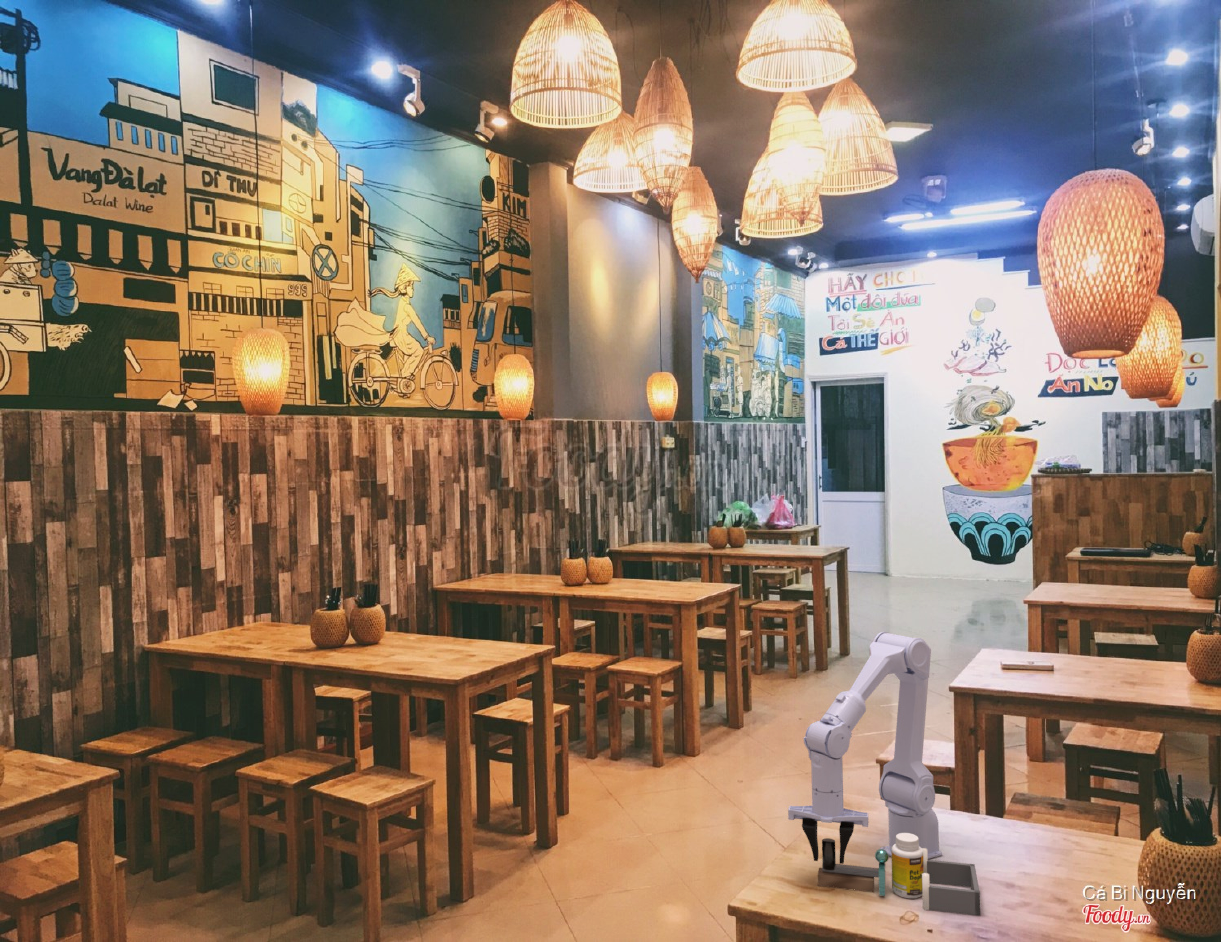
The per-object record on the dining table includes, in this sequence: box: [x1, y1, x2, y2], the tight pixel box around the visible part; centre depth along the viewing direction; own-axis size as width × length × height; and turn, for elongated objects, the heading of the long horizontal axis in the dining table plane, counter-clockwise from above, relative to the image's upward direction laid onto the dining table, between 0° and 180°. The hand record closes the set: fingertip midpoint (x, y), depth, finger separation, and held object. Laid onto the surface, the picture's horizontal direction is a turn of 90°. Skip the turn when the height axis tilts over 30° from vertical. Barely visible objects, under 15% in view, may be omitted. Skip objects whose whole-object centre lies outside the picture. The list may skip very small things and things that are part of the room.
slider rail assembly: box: [821, 837, 890, 897], centre depth 169 cm, size 12×7×8 cm, turn 72°
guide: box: [817, 867, 875, 893], centre depth 169 cm, size 10×3×2 cm, turn 72°
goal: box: [922, 848, 981, 917], centre depth 164 cm, size 9×12×6 cm
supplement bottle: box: [891, 833, 924, 899], centre depth 166 cm, size 6×6×10 cm
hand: (829, 860), depth 170 cm, fingers open, 4 cm apart
